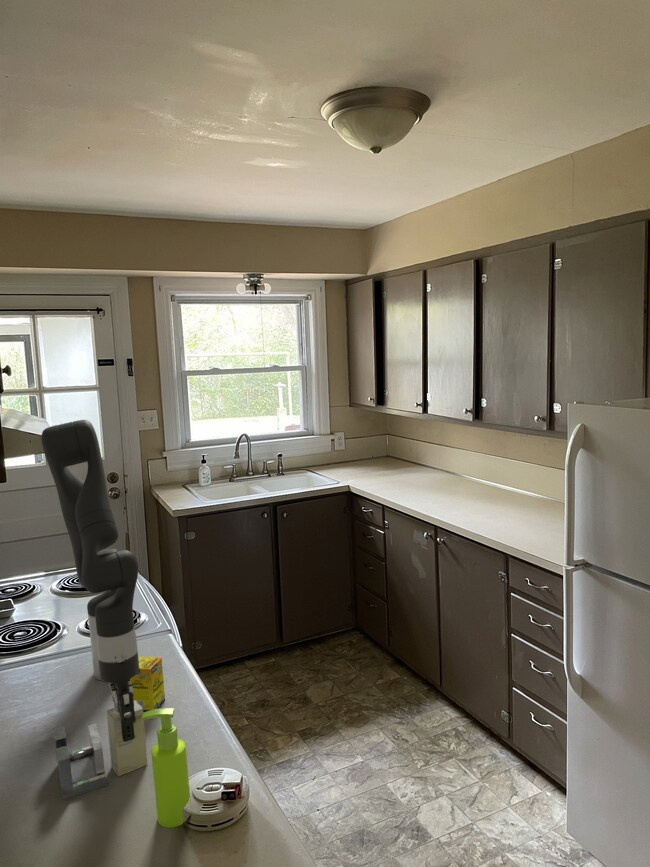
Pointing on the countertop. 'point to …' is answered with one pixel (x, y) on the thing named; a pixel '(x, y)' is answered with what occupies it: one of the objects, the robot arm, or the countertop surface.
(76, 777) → the grey bracket with rod
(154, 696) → the supplement box
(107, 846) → the countertop surface
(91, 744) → the grey t-shaped piece
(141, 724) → the skincare box
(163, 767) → the soap dispenser
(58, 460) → the robot arm
